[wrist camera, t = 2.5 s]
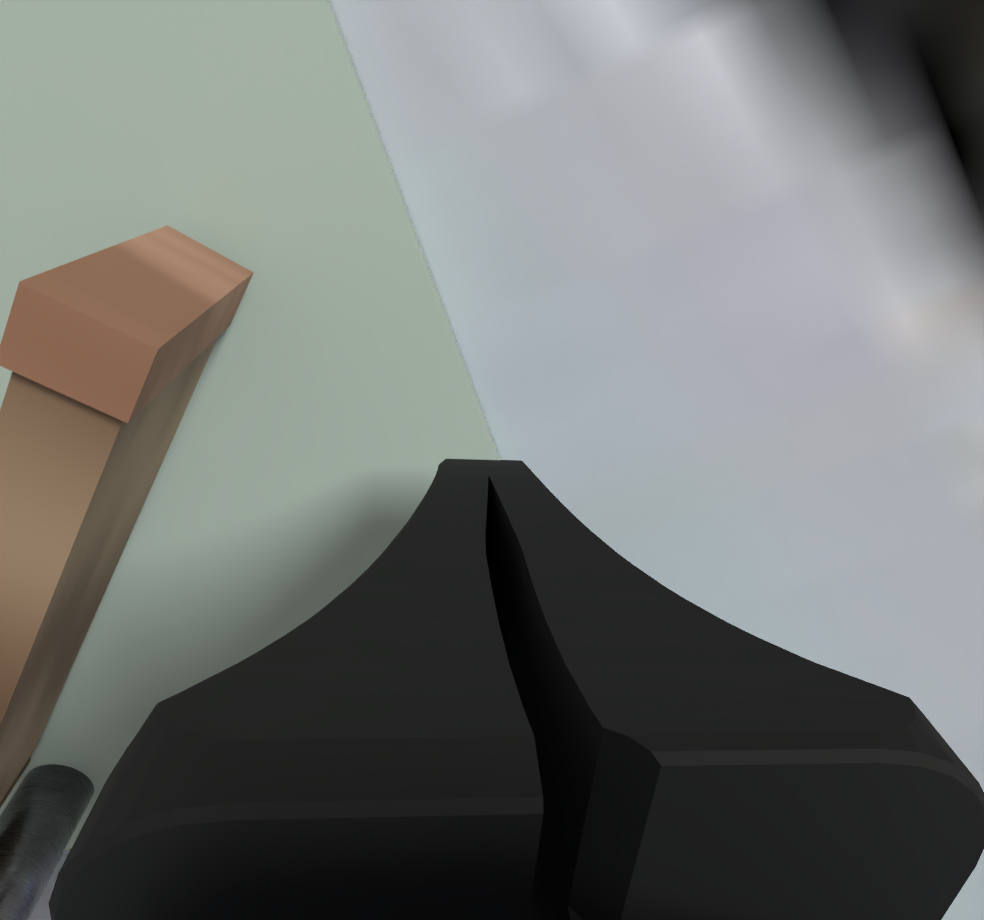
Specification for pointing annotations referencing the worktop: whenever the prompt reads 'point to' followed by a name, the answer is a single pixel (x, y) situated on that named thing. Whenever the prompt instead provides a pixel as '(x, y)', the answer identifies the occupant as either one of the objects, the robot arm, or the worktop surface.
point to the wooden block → (89, 444)
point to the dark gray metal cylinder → (38, 833)
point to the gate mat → (232, 325)
